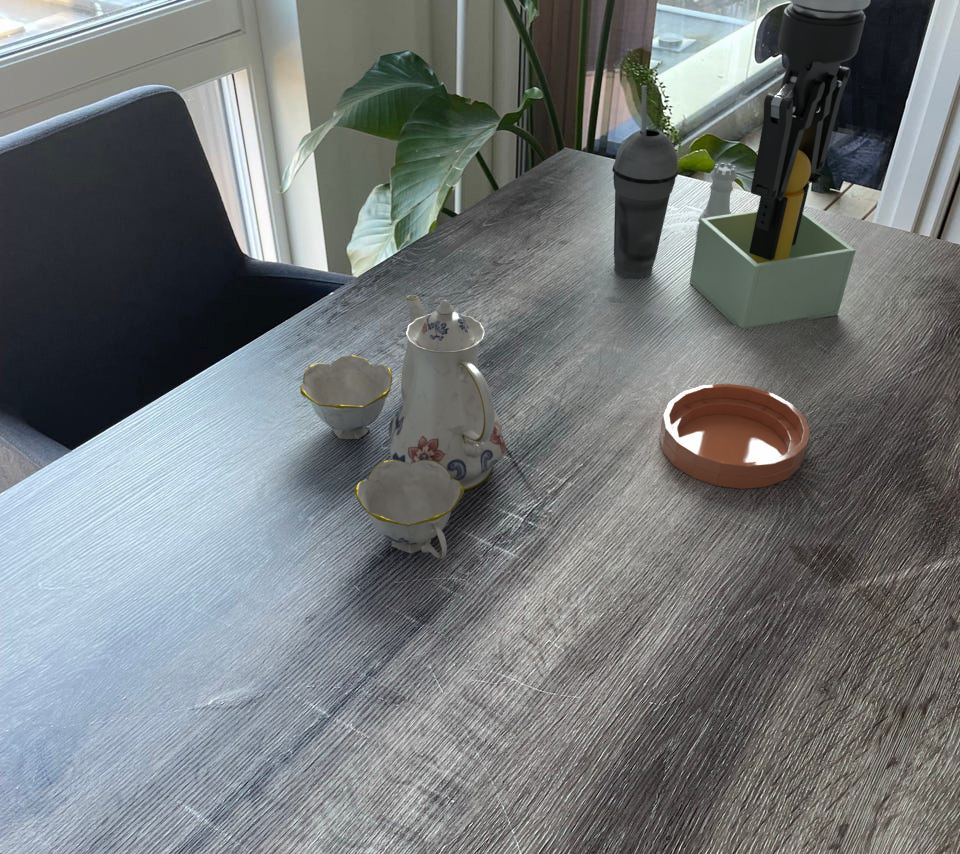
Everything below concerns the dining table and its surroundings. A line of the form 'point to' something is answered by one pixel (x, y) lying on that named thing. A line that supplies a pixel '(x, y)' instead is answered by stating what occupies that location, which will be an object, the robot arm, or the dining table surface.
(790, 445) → the bowl
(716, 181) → the rook chess piece
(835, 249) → the bin
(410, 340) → the chinaware
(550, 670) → the dining table surface
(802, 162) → the toy figure
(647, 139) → the beverage cup
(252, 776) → the dining table surface
